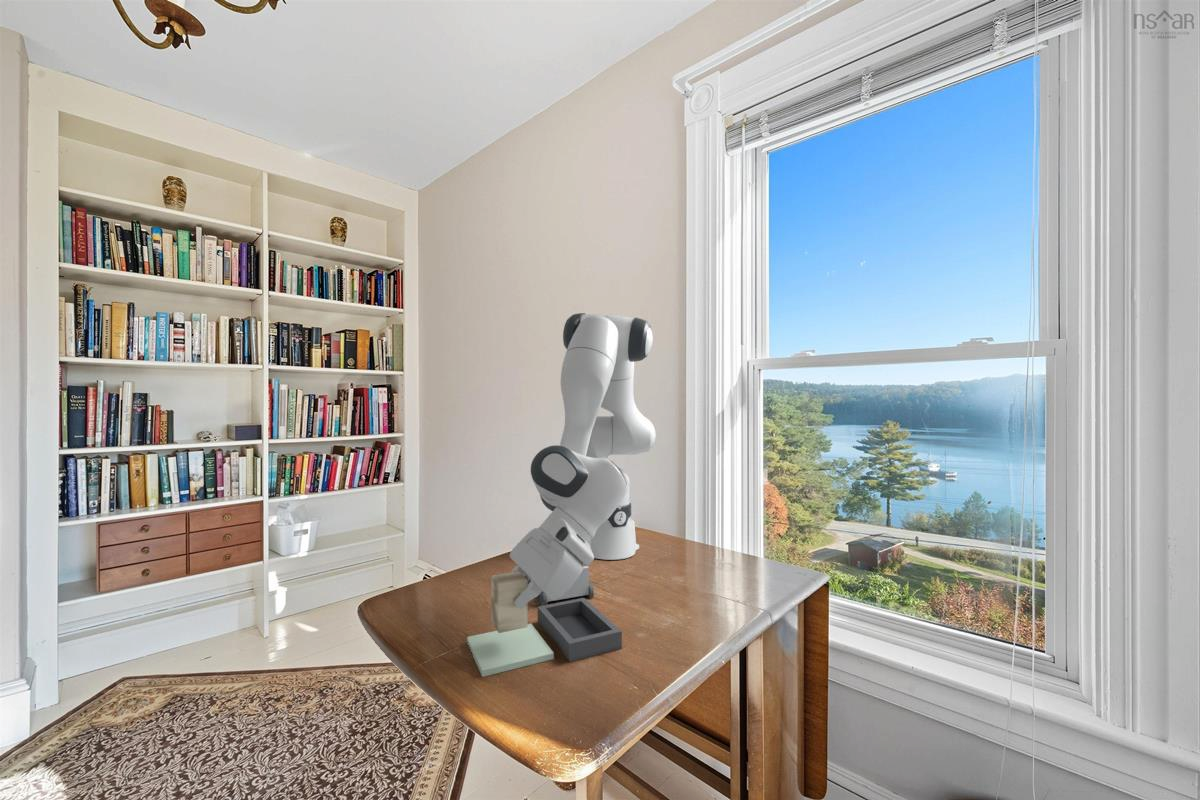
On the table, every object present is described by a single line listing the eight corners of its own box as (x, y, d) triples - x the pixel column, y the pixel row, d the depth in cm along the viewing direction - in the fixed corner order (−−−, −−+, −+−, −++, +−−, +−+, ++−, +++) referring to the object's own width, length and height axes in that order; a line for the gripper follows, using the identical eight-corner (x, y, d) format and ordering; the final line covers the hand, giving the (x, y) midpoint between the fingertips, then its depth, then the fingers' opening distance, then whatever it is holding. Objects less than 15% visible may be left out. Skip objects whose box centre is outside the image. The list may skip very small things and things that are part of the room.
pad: (467, 642, 86) (467, 637, 86) (531, 628, 92) (531, 623, 92) (482, 677, 76) (482, 670, 76) (553, 658, 81) (553, 653, 81)
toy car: (521, 539, 118) (566, 534, 122) (521, 580, 118) (565, 573, 122) (543, 562, 101) (594, 555, 106) (543, 609, 101) (594, 600, 106)
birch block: (491, 621, 85) (491, 575, 85) (518, 615, 87) (519, 571, 87) (498, 633, 80) (498, 585, 80) (527, 627, 82) (527, 580, 83)
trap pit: (537, 622, 94) (537, 606, 94) (583, 612, 99) (583, 597, 99) (569, 661, 80) (569, 643, 80) (621, 648, 85) (621, 631, 85)
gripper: (533, 512, 97) (484, 569, 92) (574, 538, 78) (515, 610, 74) (554, 532, 98) (507, 588, 94) (598, 562, 80) (542, 633, 76)
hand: (511, 598), depth 84 cm, fingers closed on birch block, 5 cm apart
